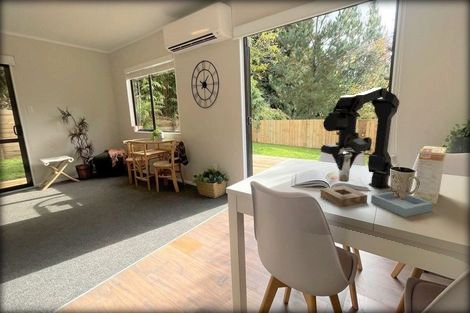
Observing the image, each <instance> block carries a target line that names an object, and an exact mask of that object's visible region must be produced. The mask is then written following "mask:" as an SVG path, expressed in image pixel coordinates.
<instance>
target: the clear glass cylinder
mask: <svg viewBox="0 0 470 313" xmlns="http://www.w3.org/2000/svg"><path fill="white" fill-rule="evenodd" d="M343 153H344V154H346V155H345V156H344V157H343V165H342V170H339V169H338V171H339V172H338V182H342V183H348V182H350V169H351V168H350V159H351V157H352V156H353V153H352V152H346V151H343Z"/></svg>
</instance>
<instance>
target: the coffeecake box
mask: <svg viewBox="0 0 470 313" xmlns="http://www.w3.org/2000/svg"><path fill="white" fill-rule="evenodd" d="M446 152H447V147H445V146H444V147H443V146H433V145H424V146H423V147H422V148H421V149H420V151H419V155H418V162H417V169H416V171H417V172H416V175H415V176H416V177H417V178H418V179H419V181H420V186H419V188H418V190H417V191H416V192H414V193H413V196H415V197H418V198H421V199H424V200H426V201H429V202H432V203H434V204H433V205H437V203H438V200H439V196H440V192H441V186H442V185H441V184H442V179H443V172H444V165H445V160H446V159H445V158H446ZM416 186H417V181H416V180H415V186H414V189H415V188H416Z"/></svg>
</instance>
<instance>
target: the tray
mask: <svg viewBox="0 0 470 313" xmlns="http://www.w3.org/2000/svg"><path fill="white" fill-rule="evenodd" d="M393 196H394V193H393V192H392V191H387V192H382V193H381V192H380V193H375V194H371V199H370V203H371V204H374V205H376V206H378V207H381V208H383V209H386V210H387V211H390V212H392V213H394V214H397V215H399V216H400V217H403V218H407V217H411V216H416V215H421V214H425V213H430V212H433V211H434V205H435V204H434V203H432V202H429V201H426V200H424V199H421V198H418V197H415V196H414V195H411V194H409V195H406V197H405V200H401V199H396V198H393Z"/></svg>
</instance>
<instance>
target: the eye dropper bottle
mask: <svg viewBox="0 0 470 313" xmlns="http://www.w3.org/2000/svg"><path fill="white" fill-rule="evenodd" d="M390 157H391V164H392V166H393V167H399V168H400V167H401V166H400V165H401V162H400V161H399V160H398V155H397V154H396V152H394V153H393V155H391V156H390Z"/></svg>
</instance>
